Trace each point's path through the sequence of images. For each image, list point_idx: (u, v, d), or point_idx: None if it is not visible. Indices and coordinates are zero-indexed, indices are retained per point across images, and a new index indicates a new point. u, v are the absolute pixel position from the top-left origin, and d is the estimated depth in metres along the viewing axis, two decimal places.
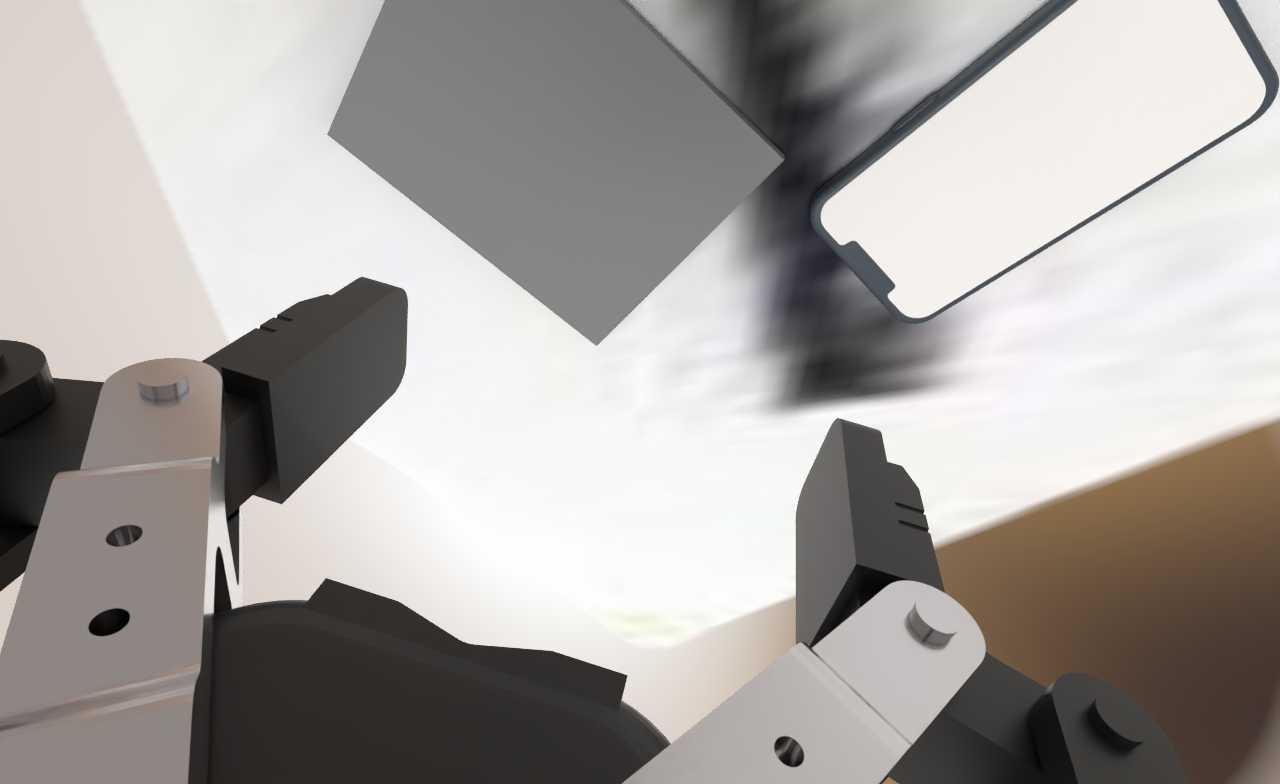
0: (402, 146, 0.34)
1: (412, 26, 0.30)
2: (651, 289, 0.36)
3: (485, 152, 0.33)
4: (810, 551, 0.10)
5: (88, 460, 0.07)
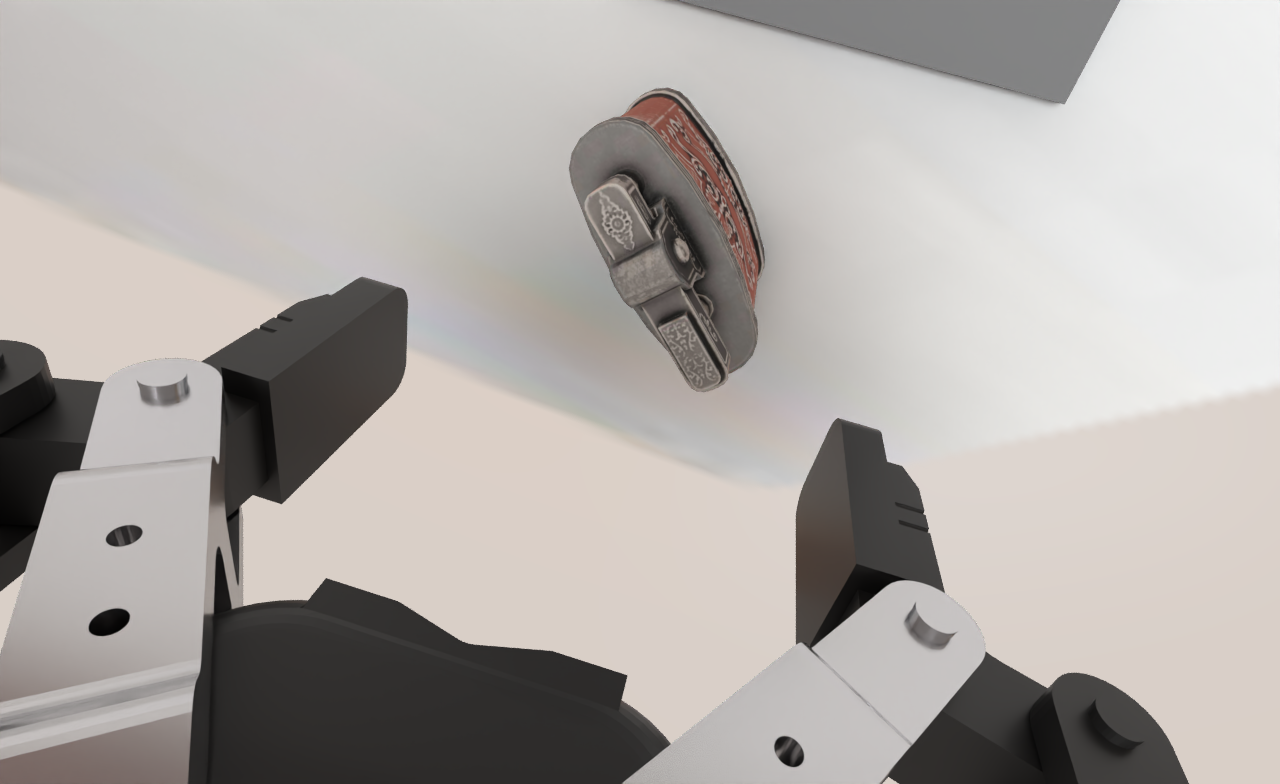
0: None
1: None
2: None
3: None
4: (810, 551, 0.10)
5: (88, 460, 0.07)
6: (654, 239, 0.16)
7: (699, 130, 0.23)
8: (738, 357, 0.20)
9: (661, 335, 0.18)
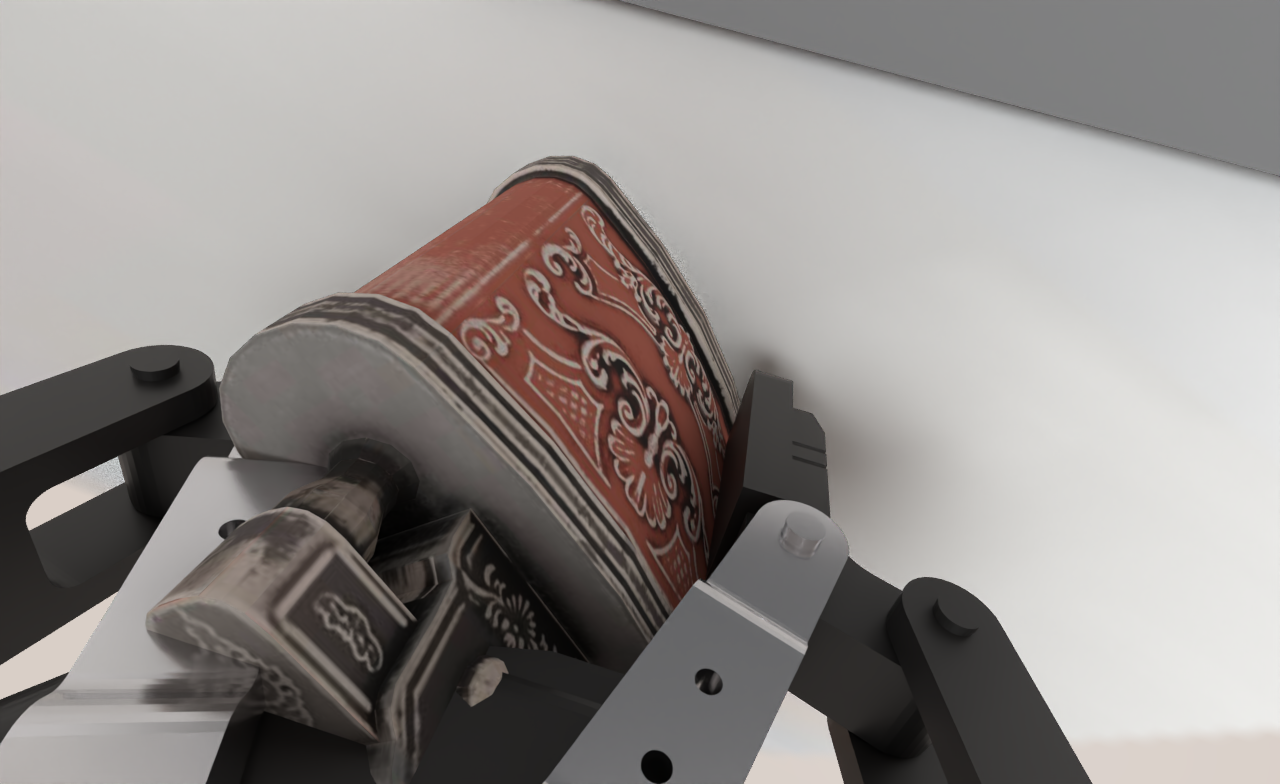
0: None
1: None
2: None
3: None
4: (723, 490, 0.11)
5: None
6: (378, 734, 0.05)
7: (628, 243, 0.12)
8: None
9: None
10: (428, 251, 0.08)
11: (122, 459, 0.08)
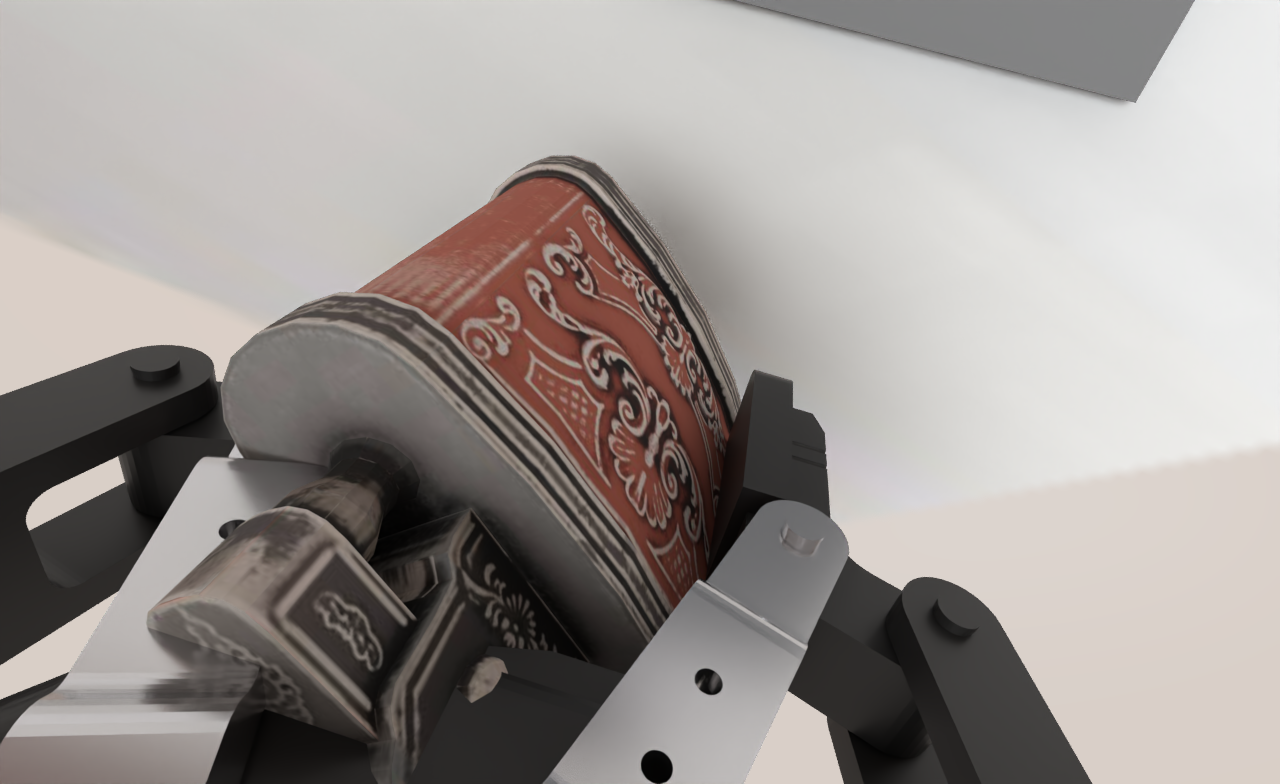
0: None
1: None
2: None
3: None
4: (723, 490, 0.11)
5: None
6: (378, 732, 0.05)
7: (629, 242, 0.12)
8: None
9: None
10: (429, 251, 0.08)
11: (122, 459, 0.08)
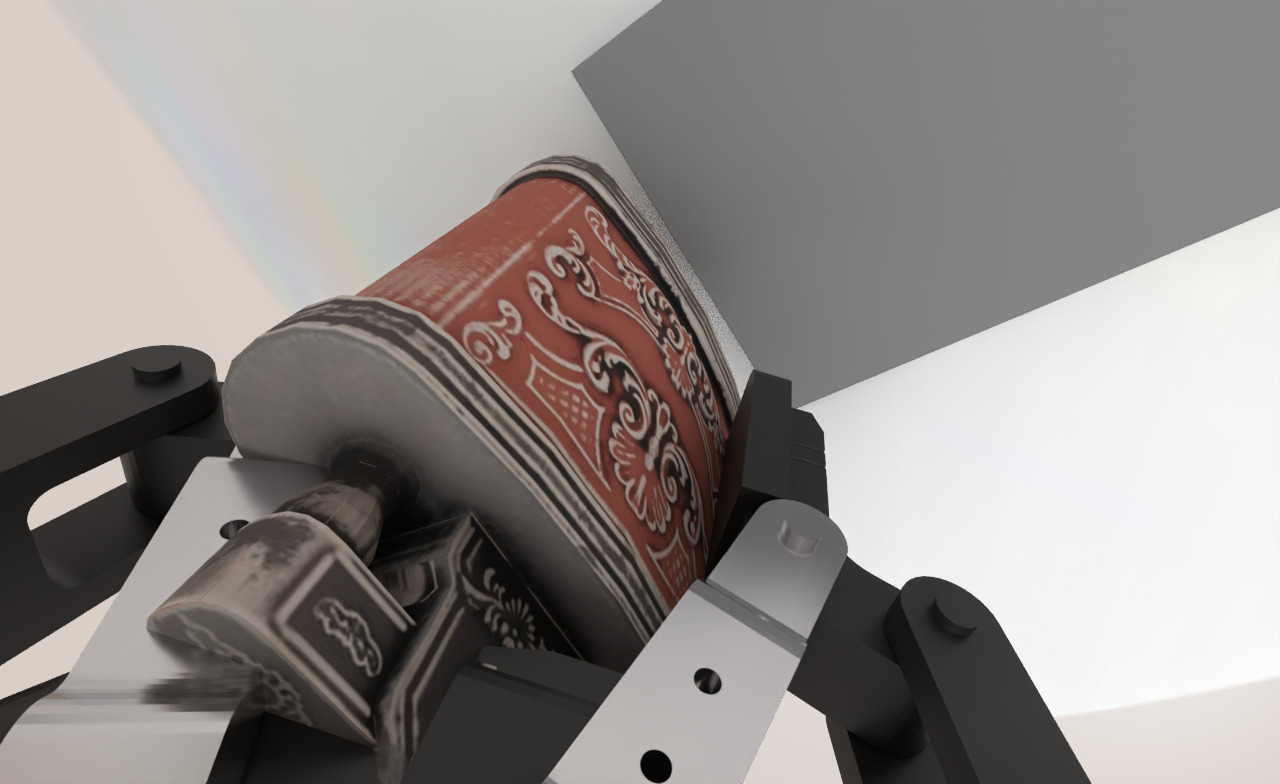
0: (837, 330, 0.25)
1: (717, 231, 0.24)
2: None
3: (898, 216, 0.22)
4: (722, 490, 0.11)
5: None
6: (378, 737, 0.05)
7: (631, 244, 0.12)
8: None
9: None
10: (431, 253, 0.08)
11: (124, 460, 0.08)
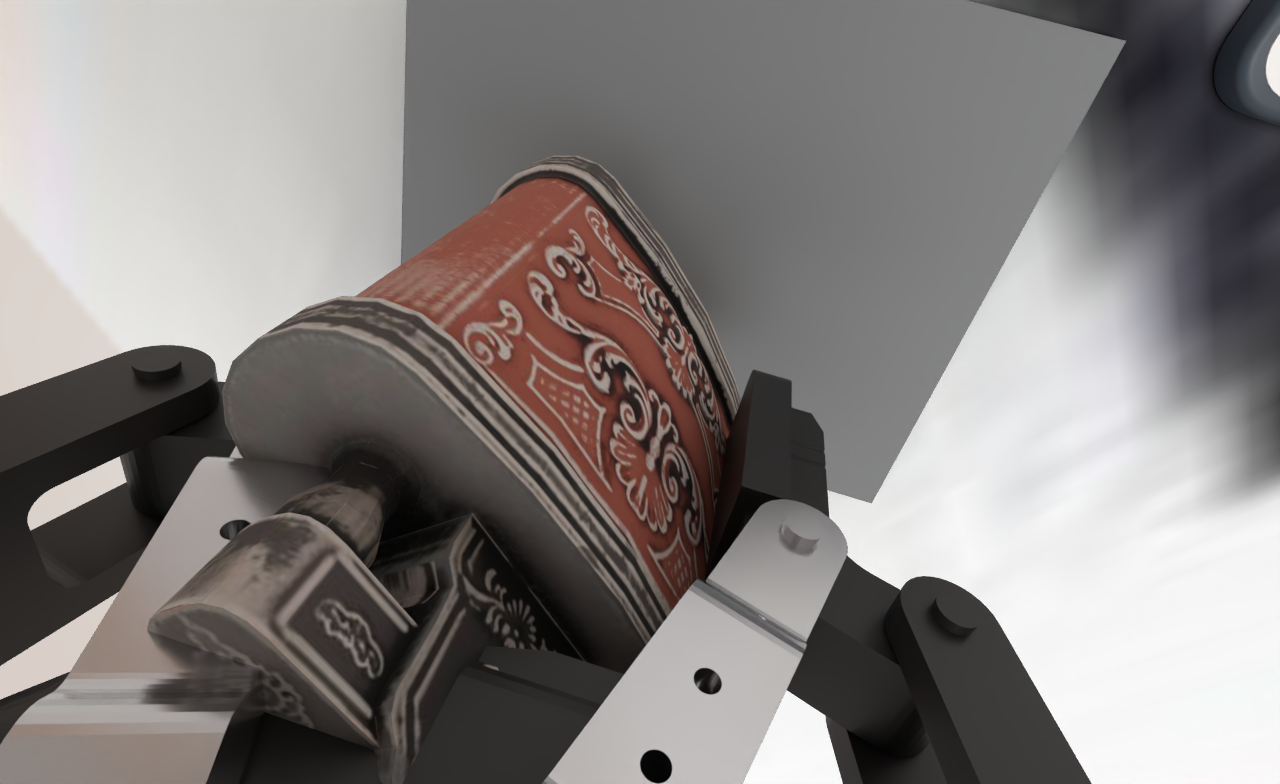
0: None
1: (449, 158, 0.20)
2: (936, 379, 0.21)
3: None
4: (722, 490, 0.11)
5: None
6: (378, 739, 0.05)
7: (632, 244, 0.12)
8: None
9: None
10: (432, 253, 0.08)
11: (124, 459, 0.08)
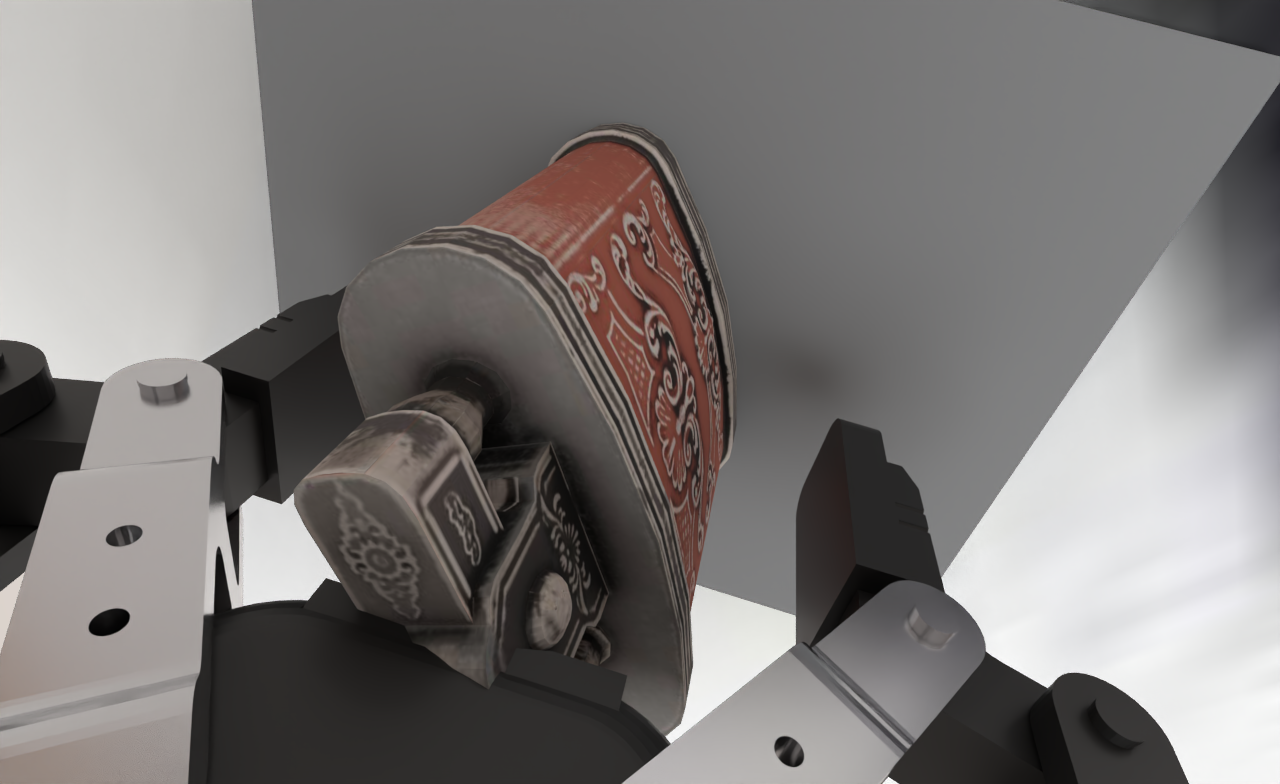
0: None
1: (329, 212, 0.15)
2: (985, 505, 0.16)
3: None
4: (810, 551, 0.10)
5: (87, 460, 0.07)
6: (474, 616, 0.06)
7: (680, 223, 0.13)
8: None
9: None
10: (532, 198, 0.09)
11: None
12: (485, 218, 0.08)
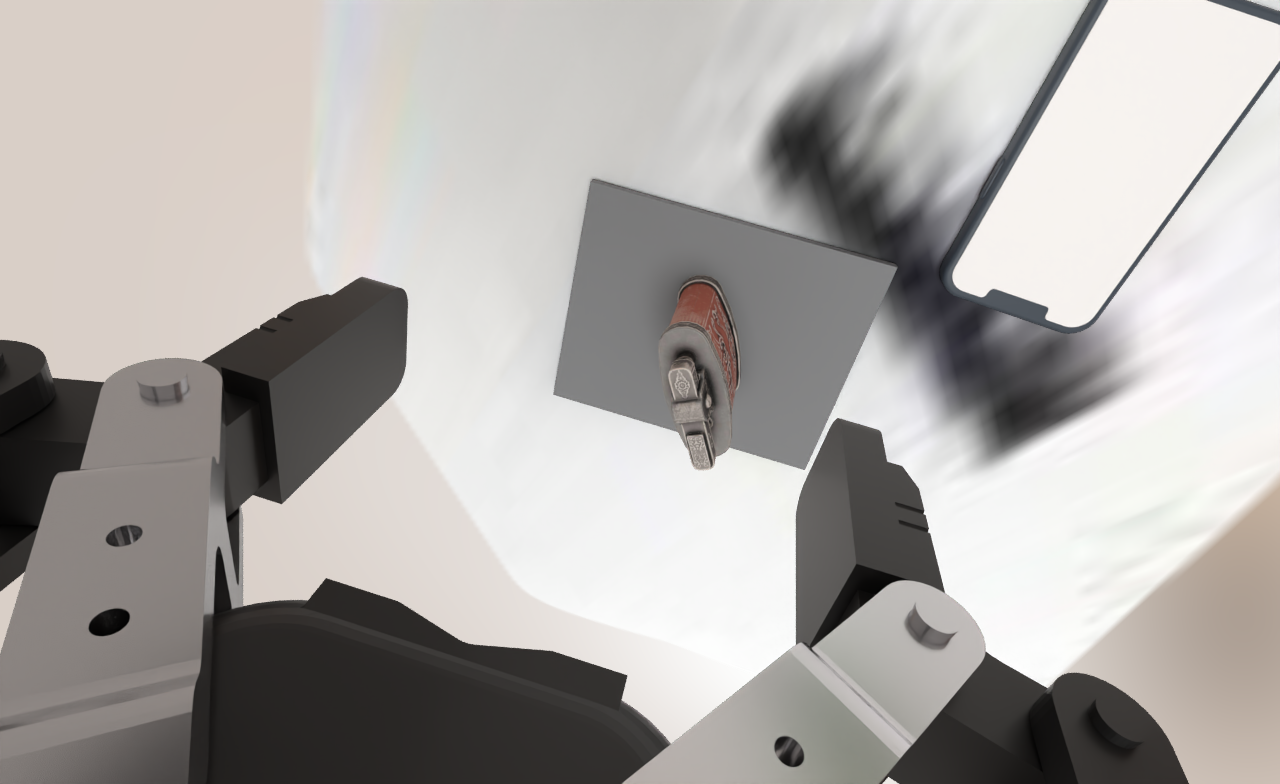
0: (607, 380, 0.45)
1: (593, 299, 0.42)
2: (832, 406, 0.42)
3: None
4: (810, 551, 0.10)
5: (87, 460, 0.07)
6: (698, 396, 0.33)
7: (723, 307, 0.39)
8: (718, 451, 0.37)
9: (686, 439, 0.34)
10: (693, 310, 0.36)
11: None
12: (685, 317, 0.35)
